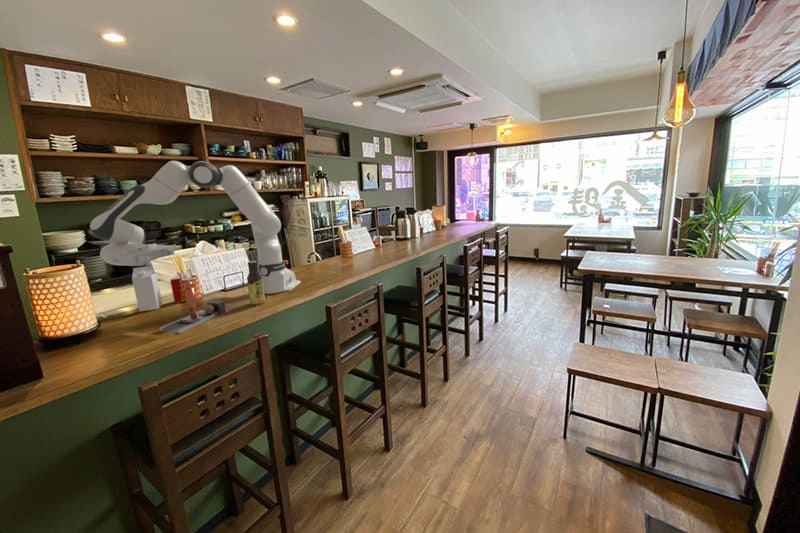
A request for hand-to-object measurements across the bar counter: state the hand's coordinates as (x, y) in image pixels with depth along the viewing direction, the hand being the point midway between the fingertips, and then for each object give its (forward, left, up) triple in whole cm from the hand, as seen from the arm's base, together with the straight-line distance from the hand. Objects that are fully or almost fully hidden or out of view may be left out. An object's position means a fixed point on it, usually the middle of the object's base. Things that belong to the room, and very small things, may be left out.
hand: (161, 255), depth 137 cm
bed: (+1, +14, -26) cm, 30 cm away
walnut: (-4, +14, -25) cm, 29 cm away
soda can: (-18, -17, -27) cm, 36 cm away
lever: (+2, +14, -25) cm, 29 cm away
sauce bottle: (-20, +25, -27) cm, 42 cm away
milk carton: (-8, -23, -27) cm, 36 cm away
